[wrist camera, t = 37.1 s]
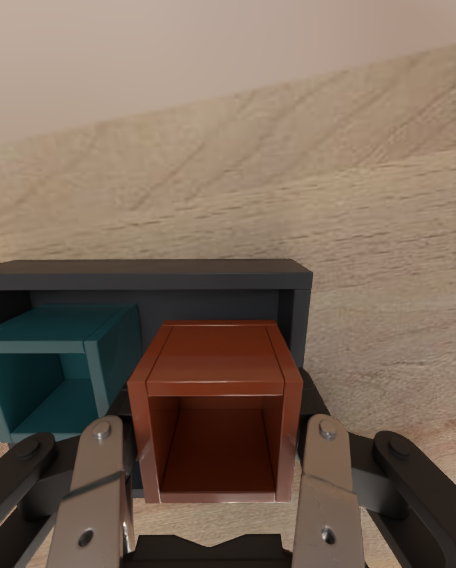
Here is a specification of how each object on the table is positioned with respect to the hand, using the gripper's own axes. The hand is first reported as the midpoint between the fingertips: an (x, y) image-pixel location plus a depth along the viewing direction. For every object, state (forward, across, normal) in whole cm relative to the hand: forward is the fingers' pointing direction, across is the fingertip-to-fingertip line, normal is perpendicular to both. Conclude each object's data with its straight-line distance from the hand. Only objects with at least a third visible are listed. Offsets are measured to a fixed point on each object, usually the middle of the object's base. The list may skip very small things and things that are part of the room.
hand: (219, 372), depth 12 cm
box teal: (+3, +8, 0) cm, 8 cm away
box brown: (+1, 0, 0) cm, 1 cm away
